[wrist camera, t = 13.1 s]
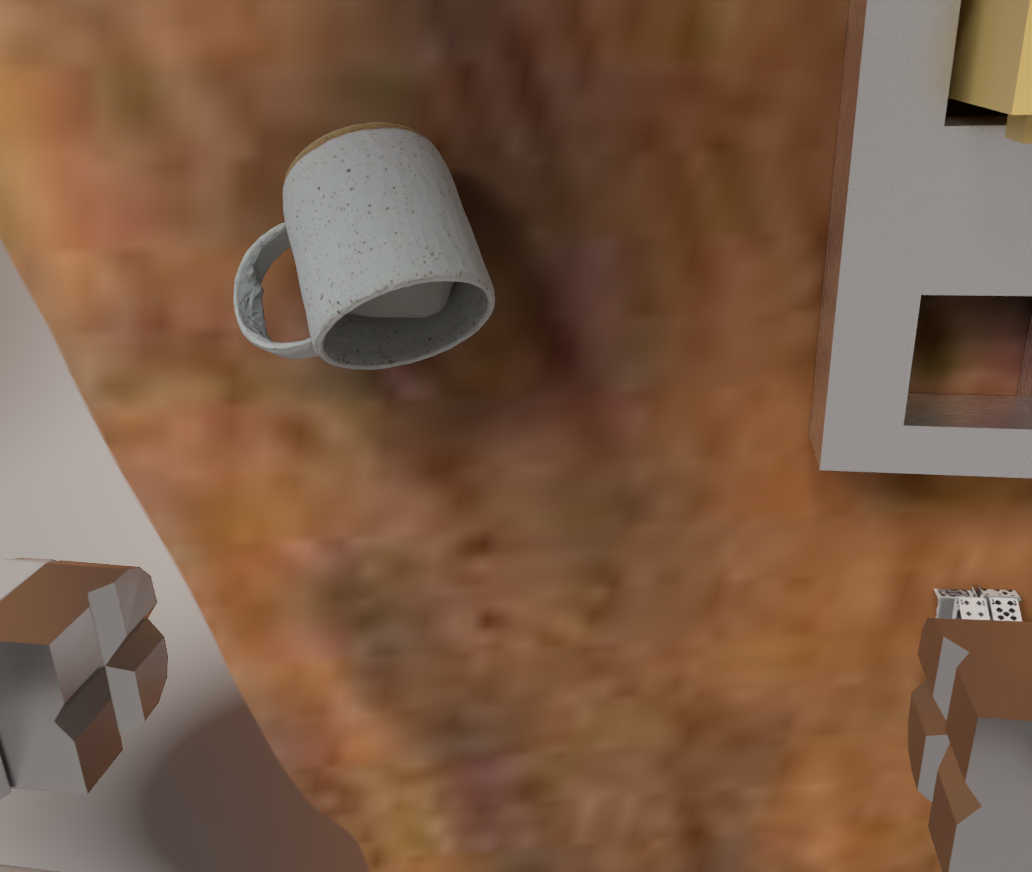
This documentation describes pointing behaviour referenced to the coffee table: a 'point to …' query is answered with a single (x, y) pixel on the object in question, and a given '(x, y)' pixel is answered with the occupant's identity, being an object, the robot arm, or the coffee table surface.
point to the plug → (996, 61)
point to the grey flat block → (915, 253)
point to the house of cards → (978, 604)
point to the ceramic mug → (371, 253)
